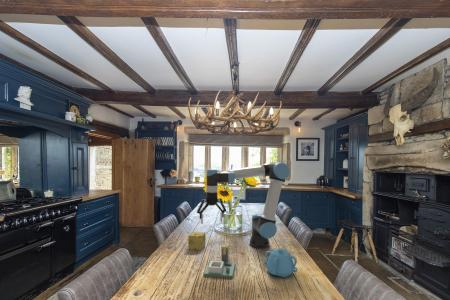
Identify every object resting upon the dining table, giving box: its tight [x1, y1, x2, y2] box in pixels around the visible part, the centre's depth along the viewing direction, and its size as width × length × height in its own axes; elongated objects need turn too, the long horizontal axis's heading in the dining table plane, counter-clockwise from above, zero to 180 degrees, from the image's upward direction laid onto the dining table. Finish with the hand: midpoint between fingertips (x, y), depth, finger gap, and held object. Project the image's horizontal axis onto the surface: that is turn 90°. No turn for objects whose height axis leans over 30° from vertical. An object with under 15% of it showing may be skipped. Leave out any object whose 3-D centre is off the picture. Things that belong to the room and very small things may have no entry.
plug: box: [220, 243, 230, 261], centre depth 157 cm, size 4×6×10 cm
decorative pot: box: [264, 248, 298, 279], centre depth 142 cm, size 16×16×14 cm
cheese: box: [187, 231, 207, 251], centre depth 181 cm, size 10×11×10 cm
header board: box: [203, 259, 236, 279], centre depth 145 cm, size 16×18×4 cm
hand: (211, 222), depth 167 cm, fingers open, 13 cm apart
